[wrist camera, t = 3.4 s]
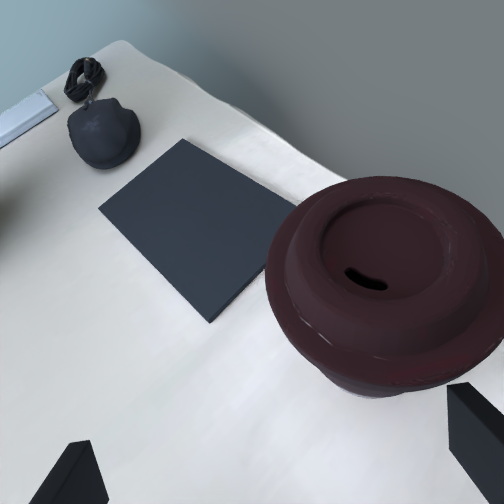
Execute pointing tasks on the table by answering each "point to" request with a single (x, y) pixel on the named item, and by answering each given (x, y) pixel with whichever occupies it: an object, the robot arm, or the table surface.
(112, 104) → the computer mouse
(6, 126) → the hard drive
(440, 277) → the coffee cup
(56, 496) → the robot arm
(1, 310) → the table surface
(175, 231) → the mat
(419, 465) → the table surface
